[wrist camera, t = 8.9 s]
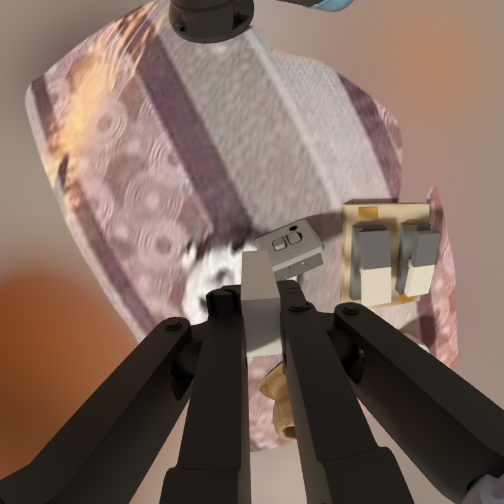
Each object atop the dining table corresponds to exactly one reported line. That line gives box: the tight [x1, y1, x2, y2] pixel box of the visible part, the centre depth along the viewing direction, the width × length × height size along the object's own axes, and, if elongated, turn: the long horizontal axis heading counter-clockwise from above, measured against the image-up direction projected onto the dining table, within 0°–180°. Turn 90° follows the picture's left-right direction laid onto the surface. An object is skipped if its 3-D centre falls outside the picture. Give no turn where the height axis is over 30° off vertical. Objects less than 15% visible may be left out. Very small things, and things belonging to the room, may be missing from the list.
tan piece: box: [258, 362, 297, 440], centre depth 48 cm, size 15×12×15 cm
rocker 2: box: [404, 230, 441, 297], centre depth 42 cm, size 12×5×2 cm, turn 4°
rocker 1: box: [359, 230, 391, 307], centre depth 42 cm, size 12×5×2 cm, turn 4°
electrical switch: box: [255, 219, 325, 281], centre depth 43 cm, size 9×5×9 cm, turn 114°
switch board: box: [340, 203, 431, 309], centre depth 46 cm, size 20×18×4 cm
